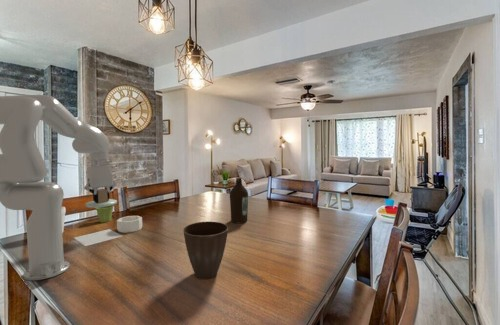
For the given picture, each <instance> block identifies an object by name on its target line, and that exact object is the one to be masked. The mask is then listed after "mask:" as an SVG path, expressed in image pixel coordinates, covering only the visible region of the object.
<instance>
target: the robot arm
mask: <svg viewBox="0 0 500 325" xmlns="http://www.w3.org/2000/svg"><path fill="white" fill-rule="evenodd" d="M40 121H42V122H44V123H45V124H46V125H47V126H49V127H50V128H51V129H52V130H54V131H55V132H56V134H59V135H61V136H64V137H66V138H67V137H68V138H70V139H73V140H72V143H71V145H72V149H73V150H74V152H76V153H77V154H78V153H79V154H89V164H90V166H88V167H87V174H86V175H87V176H86V178H87V179H86V182H87V183H86V185H85V186H84V188H83V189H84V190H86V191H88V192H89V193H91V194H92V201H94V202H96V203H98V194H97V189H100V188H104V189H107V196H108V201H109V199H111V198H110V193H111V191H112V190H113V189H114V188H115V187H117V183H116V182H115V181H114V176H113V171H112V167H111V165H110V164H112V160H111V159H109V150H110V148H111V145H110V140H109V138H108V137H107V135H105V133H104V132H103V131H102V130H101V129H99V128H98V127H96V126H94V125H91V124H89V123H87V122H84V121H83V120H80V119H77V117H75V116H74V115H73V113H71V112H70V111H69V109H67V108H66V107H65V106H64V105H63V104H62V103H61V102H60V101H59V100H58V99H57V98H56V97H54V96H51V95H48V94H21V95H20V94H19V95H2V96H1V95H0V125H3V126H2V128H1V130H0V152H1V154H0V204H1V205H2V206H3V207H5V208H6V209H9V210H13V211H31V214H30V216H29V217H28V218H27V221H26V225H25V227H26V229H25V230H26V237H27V238H26V240H27V253H28V254H27V255H28V256H27V259H28V269H27V270H25V271H24V272H23V279H24V280H26V281H41V280H47V279H50V278H53V277H56V276H58V275H61V274H63V273H64V272H66V271H68V270H69V268H70V262H69V261H67V260H65V259H64V257H65V256H64V240H63V233H62V223H61V209H62V207H63V201H64V196H65V195H64V189H63V188H62V186H60V185H59V184H58V183H56V182H51V181H44V180H45V178H46V177H47V176H48V168H47V165H46V162H45V160H44V158H43V156H42V154H41V151H40V149H39V147H38V144H37V141H36V139H35V138H36V137H35V133H36V130H37V126H38V125H39V123H40Z"/></svg>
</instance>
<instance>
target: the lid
mask: <svg viewBox="0 0 500 325" xmlns="http://www.w3.org/2000/svg"><path fill="white" fill-rule="evenodd" d="M97 194H98V203H96V202H94V201H93V200H91V201H88V202H86V203H85V207H86V208H95V209H96V208H97V207H106V206H111V205H114V206H115V205H116V204H117V203H118V200H117V199H112V198H109V201H108V196H107V189H105V188H97Z"/></svg>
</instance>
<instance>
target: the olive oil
mask: <svg viewBox="0 0 500 325" xmlns="http://www.w3.org/2000/svg"><path fill="white" fill-rule="evenodd" d="M229 203H230V204H229V205H230V206H229V207H230V220H231V222H232V223H234V224H243V223H247V222H248V213H249V212H248V210H249V209H248V208H249V207H248V206H249V205H248V204H249V193H248V190H247V189H246V188H245V186H244V185H243V180H242V177H236V178H235V185H234V186H233V187H232V188H231V190H230V192H229Z"/></svg>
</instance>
